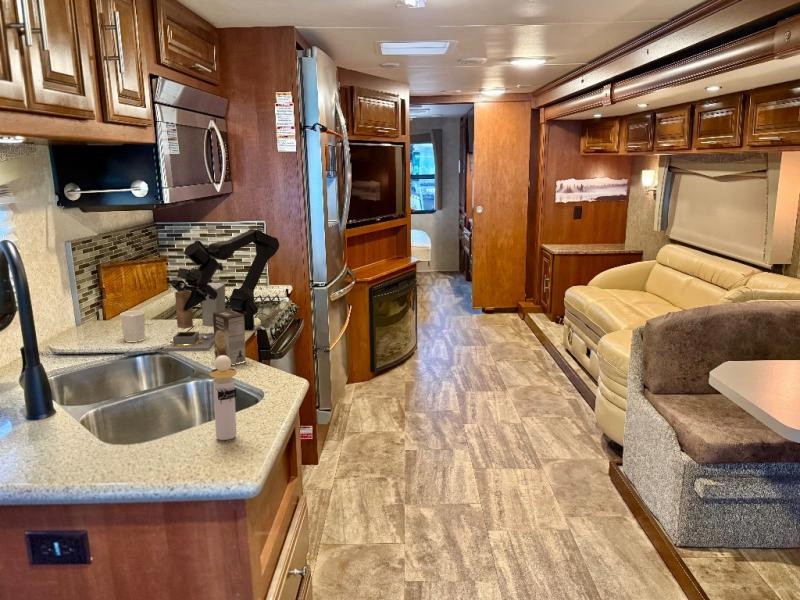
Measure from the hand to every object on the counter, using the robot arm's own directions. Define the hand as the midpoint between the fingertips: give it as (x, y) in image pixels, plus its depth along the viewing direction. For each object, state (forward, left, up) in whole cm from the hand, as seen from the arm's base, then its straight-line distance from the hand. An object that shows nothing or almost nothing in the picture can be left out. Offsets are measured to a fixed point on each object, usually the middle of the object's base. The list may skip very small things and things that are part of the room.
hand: (180, 309), depth 202 cm
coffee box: (-19, +17, -14) cm, 29 cm away
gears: (-3, -4, -12) cm, 13 cm away
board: (-2, -4, -13) cm, 14 cm away
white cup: (+19, -9, -14) cm, 25 cm away
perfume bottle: (-27, +74, -14) cm, 80 cm away
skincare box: (-5, -31, -14) cm, 34 cm away
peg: (-1, -1, -7) cm, 7 cm away
